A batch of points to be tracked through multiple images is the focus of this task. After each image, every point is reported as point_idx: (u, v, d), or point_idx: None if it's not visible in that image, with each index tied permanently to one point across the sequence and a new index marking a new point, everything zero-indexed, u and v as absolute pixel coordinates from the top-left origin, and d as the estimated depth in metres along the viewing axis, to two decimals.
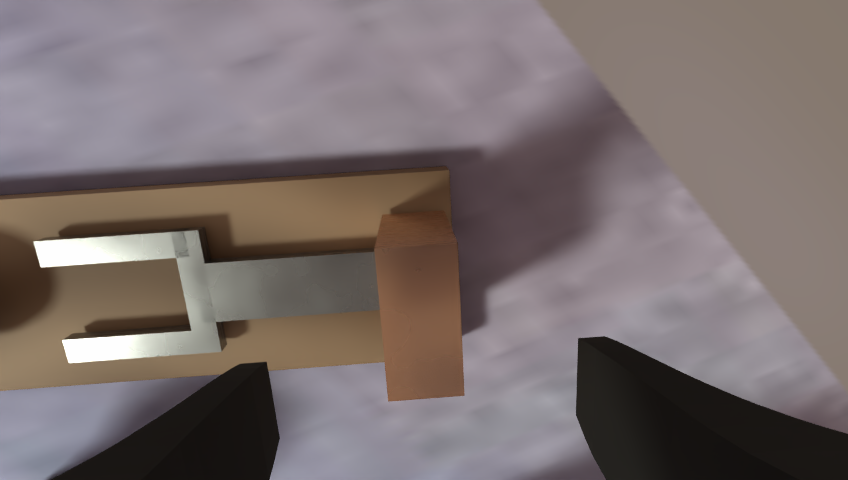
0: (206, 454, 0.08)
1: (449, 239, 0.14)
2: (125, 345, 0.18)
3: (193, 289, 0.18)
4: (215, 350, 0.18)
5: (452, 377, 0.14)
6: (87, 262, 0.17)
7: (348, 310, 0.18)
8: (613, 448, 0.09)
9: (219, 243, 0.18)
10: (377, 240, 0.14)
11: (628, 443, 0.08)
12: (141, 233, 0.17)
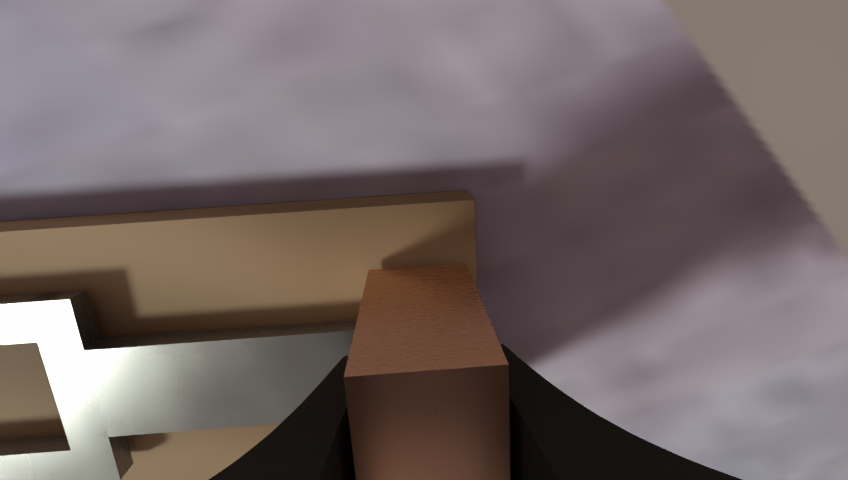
0: (348, 443, 0.08)
1: (489, 350, 0.07)
2: None
3: (69, 389, 0.11)
4: (110, 478, 0.12)
5: None
6: None
7: None
8: None
9: (115, 313, 0.12)
10: (353, 346, 0.08)
11: None
12: None
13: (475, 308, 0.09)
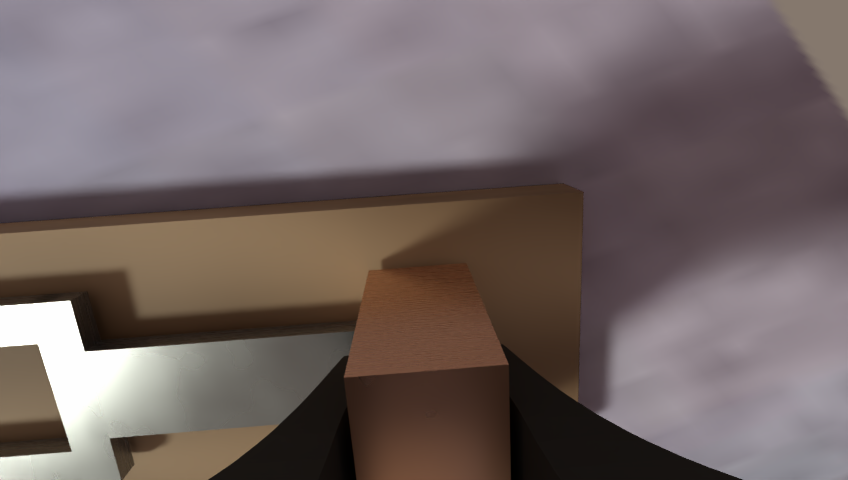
0: (348, 443, 0.08)
1: (489, 350, 0.07)
2: None
3: (70, 390, 0.11)
4: (111, 479, 0.12)
5: None
6: None
7: None
8: None
9: (222, 306, 0.12)
10: (353, 346, 0.08)
11: None
12: None
13: (475, 308, 0.09)
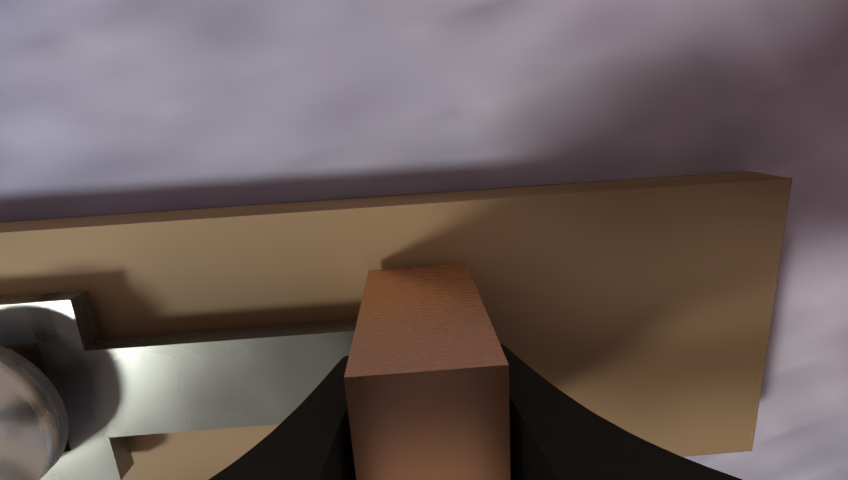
0: (348, 443, 0.08)
1: (489, 350, 0.07)
2: None
3: (69, 390, 0.11)
4: (111, 478, 0.12)
5: None
6: None
7: None
8: None
9: None
10: (353, 346, 0.08)
11: None
12: None
13: (475, 308, 0.09)
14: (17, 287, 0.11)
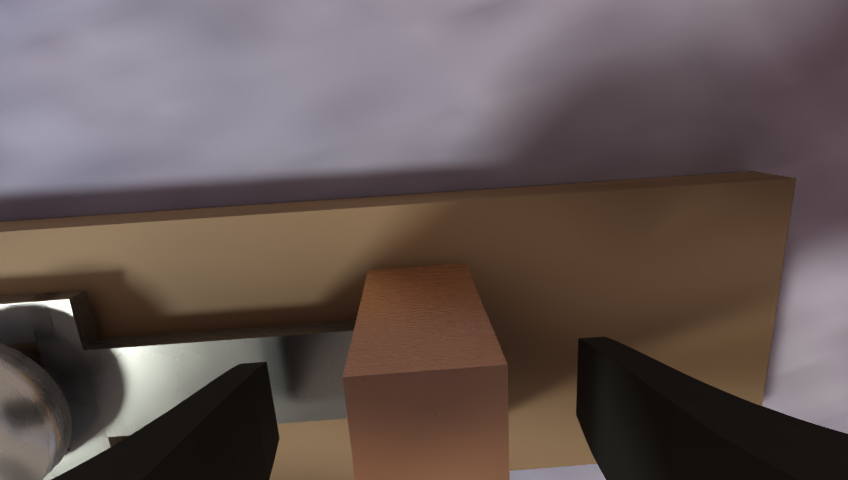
0: (206, 454, 0.08)
1: (489, 350, 0.07)
2: None
3: (68, 389, 0.11)
4: None
5: None
6: None
7: (315, 418, 0.12)
8: (613, 448, 0.09)
9: None
10: (352, 346, 0.08)
11: (628, 443, 0.08)
12: None
13: (474, 308, 0.09)
14: (20, 286, 0.11)
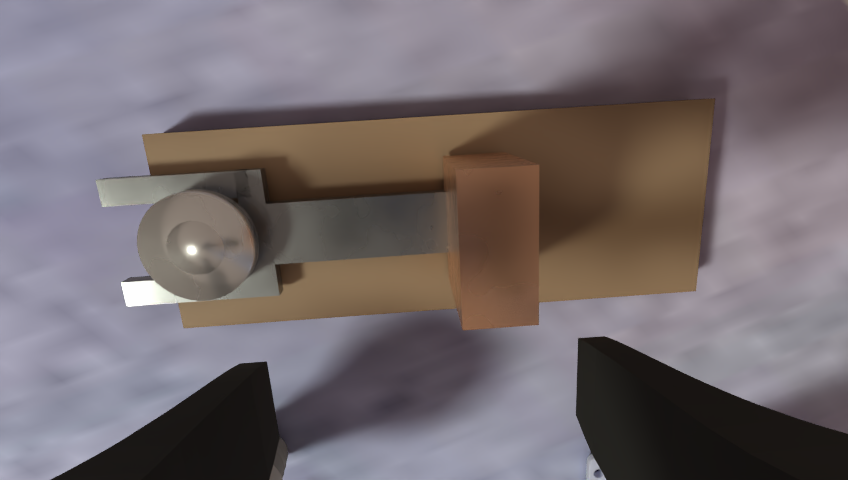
0: (206, 454, 0.08)
1: (528, 163, 0.14)
2: None
3: None
4: (273, 294, 0.18)
5: (527, 305, 0.14)
6: (149, 202, 0.17)
7: (407, 253, 0.18)
8: (613, 448, 0.09)
9: None
10: (453, 166, 0.14)
11: (628, 443, 0.08)
12: (203, 173, 0.17)
13: (516, 158, 0.15)
14: (221, 167, 0.18)
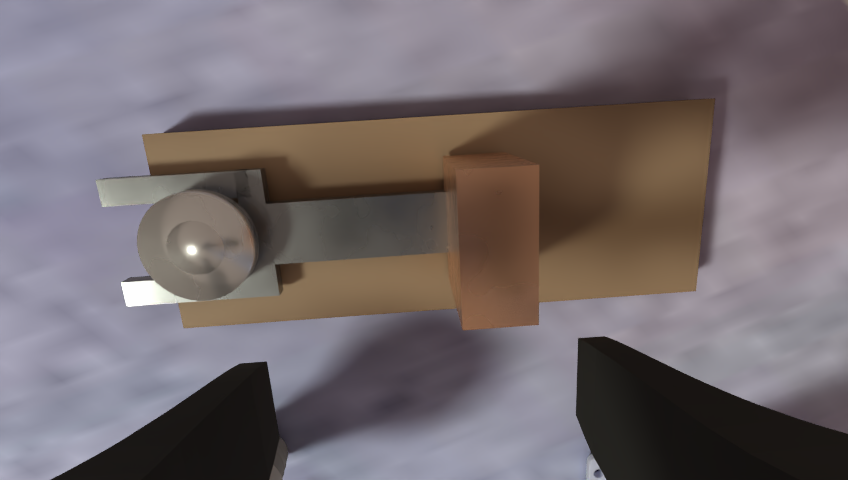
0: (206, 454, 0.08)
1: (528, 163, 0.14)
2: None
3: None
4: (273, 294, 0.18)
5: (527, 305, 0.14)
6: (149, 202, 0.17)
7: (407, 253, 0.18)
8: (613, 448, 0.09)
9: None
10: (453, 166, 0.14)
11: (628, 443, 0.08)
12: (203, 173, 0.17)
13: (516, 158, 0.15)
14: (221, 167, 0.18)
